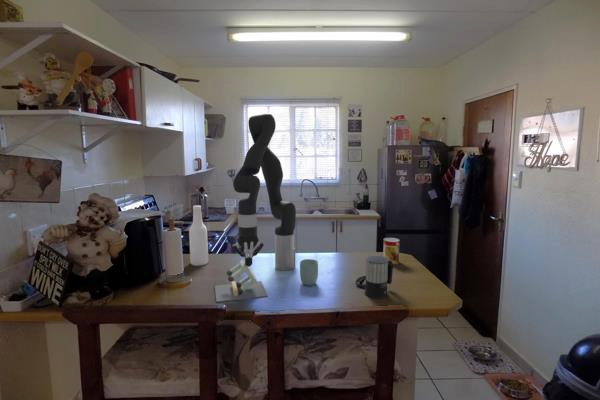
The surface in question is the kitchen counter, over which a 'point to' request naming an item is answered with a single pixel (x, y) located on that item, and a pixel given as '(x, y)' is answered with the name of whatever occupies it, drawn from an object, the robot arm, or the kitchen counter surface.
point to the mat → (231, 293)
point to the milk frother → (376, 276)
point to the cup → (309, 271)
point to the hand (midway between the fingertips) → (248, 265)
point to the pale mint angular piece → (250, 276)
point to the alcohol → (198, 239)
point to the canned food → (391, 249)
